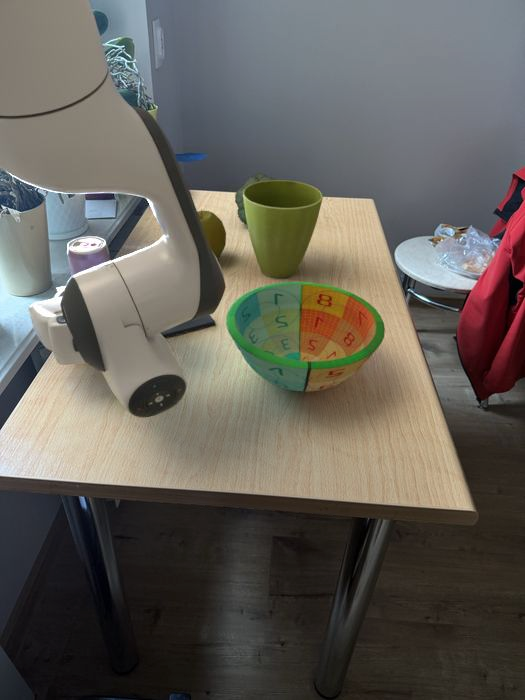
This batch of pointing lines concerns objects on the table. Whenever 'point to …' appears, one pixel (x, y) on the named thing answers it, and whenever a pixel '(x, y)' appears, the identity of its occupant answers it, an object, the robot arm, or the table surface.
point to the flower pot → (281, 223)
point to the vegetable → (239, 194)
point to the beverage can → (87, 253)
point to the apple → (213, 231)
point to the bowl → (304, 333)
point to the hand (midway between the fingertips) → (93, 284)
